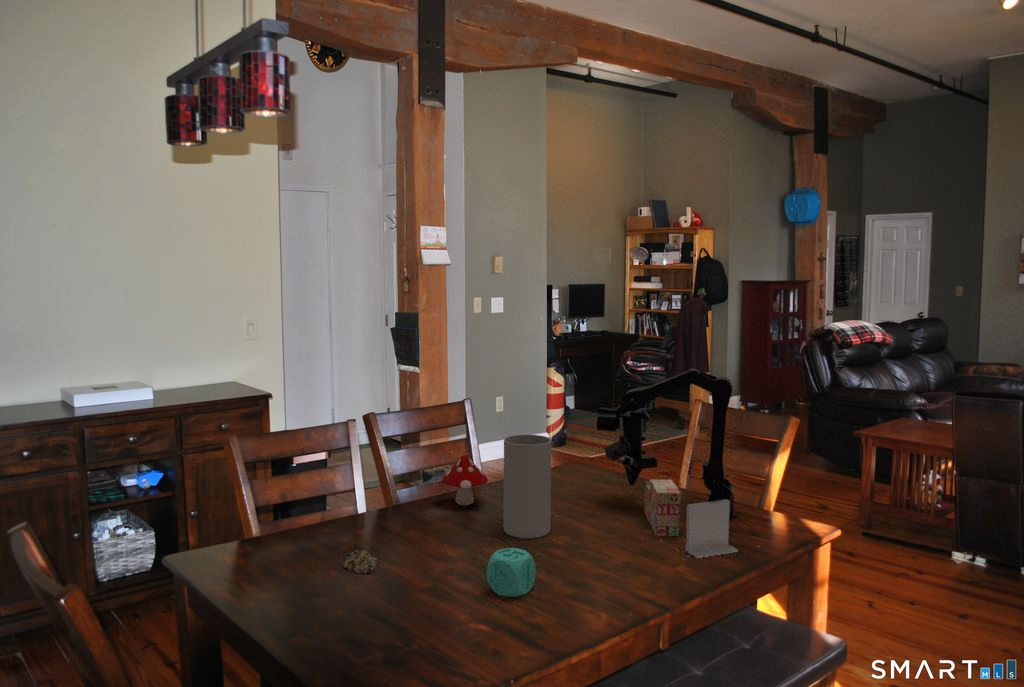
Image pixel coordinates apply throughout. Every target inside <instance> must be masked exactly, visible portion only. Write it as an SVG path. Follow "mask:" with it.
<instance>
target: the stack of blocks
mask: <svg viewBox="0 0 1024 687" xmlns="http://www.w3.org/2000/svg"><path fill="white" fill-rule="evenodd" d="M681 494H682V492H681V491H680V489H679V488H678V486H677V485H676V484H675V483H674V481H673V480H672V479H649V480H644V481H643V501H644V502H643V512H644V514H646V515H645V516H647V517H646V518H647V521H648V523H649V522H650V523H649V525H650V524H651V525H650V527H651V526H652V527H651V529H653V530H652V531H654V532H653V534H654V533H655V534H654V536H655V535H656V536H680V519H681V518H680V515H681V498H682V495H681ZM656 536H655V537H656Z"/></svg>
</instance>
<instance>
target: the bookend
mask: <svg viewBox="0 0 1024 687" xmlns="http://www.w3.org/2000/svg"><path fill="white" fill-rule="evenodd" d="M729 507H730V501H729V500H727V499H726V500H718V501H711V502H708V501H705V502H704V501H703V502H697V503H690V504H689V503H688V504H687V505H686V525H685V526H686V527H685V530H686V531H685V532H686V533H685V534H686V535H685V552H686V553H687V552H688V553H687V554H689V555H691V556H692V555H693V556H692V557H694V556H695V557H694V558H696V559H698V558H699V559H703V557H705V558H710V557H709V556H711V557H716V556H715V555H717V556H722V555H721V554H723V555H728V554H734V552H735V553H738V552H739V550H738V549H737V548H736V547H733V546H732V545H731V544H729V538H730V537H729V534H730V532H729V531H730V530H729V529H730V518H729Z"/></svg>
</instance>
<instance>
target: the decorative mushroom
mask: <svg viewBox="0 0 1024 687" xmlns="http://www.w3.org/2000/svg"><path fill="white" fill-rule="evenodd" d="M488 481H489V480H488V477H487V476H486V474H485V472H484V471H483V470H481V469H480V468H479V467H478V466H477V465H476V464H475V463H474V461H473V460H472V459H471V457H469V456H468V455H465V454H464V455H461V456H460V457H459V458H458V459H457V460H456V462H455V463H454V465H453V466H452V467H451V468H450V469H448V471H447V472H446V473H445V474H444V475H443V477H442V478H441V483H442V484H443V485H445V486H447V487H451V488H456V489H457V491H456V495H455V503H456V504H457V505H459V506H464V507H467V506H470V505H472V504H473V503H474V501H475V498H474V493H473V490H472V488H477V487H482V486H484V485H485V484H487V483H488Z"/></svg>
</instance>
